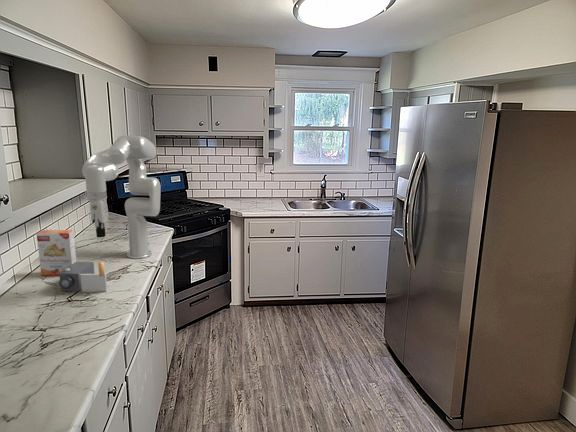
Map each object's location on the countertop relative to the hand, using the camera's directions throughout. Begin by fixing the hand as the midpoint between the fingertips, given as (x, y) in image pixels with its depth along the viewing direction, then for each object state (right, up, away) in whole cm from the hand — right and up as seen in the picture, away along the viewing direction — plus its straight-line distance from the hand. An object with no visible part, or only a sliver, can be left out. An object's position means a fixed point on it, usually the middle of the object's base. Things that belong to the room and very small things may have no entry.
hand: (101, 236), depth 174 cm
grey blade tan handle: (-2, -23, -3) cm, 24 cm away
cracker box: (-27, -19, +16) cm, 36 cm away
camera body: (-12, -22, +4) cm, 25 cm away
